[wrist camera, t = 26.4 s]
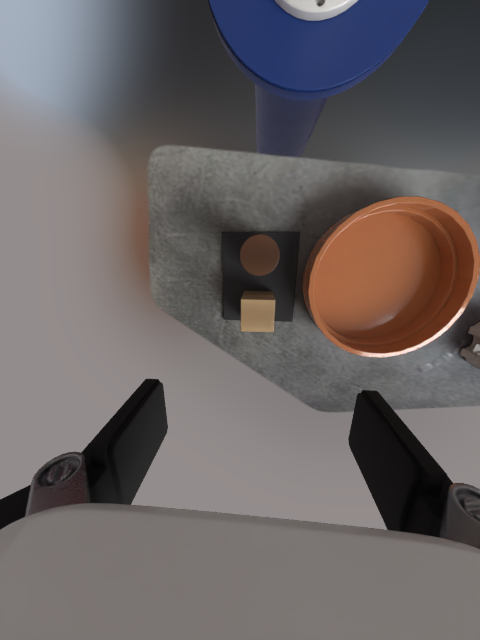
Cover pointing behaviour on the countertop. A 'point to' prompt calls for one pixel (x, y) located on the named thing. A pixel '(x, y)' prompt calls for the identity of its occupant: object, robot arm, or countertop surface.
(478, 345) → the egg carton
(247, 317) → the birch block
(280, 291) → the mat
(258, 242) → the walnut cylinder
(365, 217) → the pan
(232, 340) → the countertop surface
